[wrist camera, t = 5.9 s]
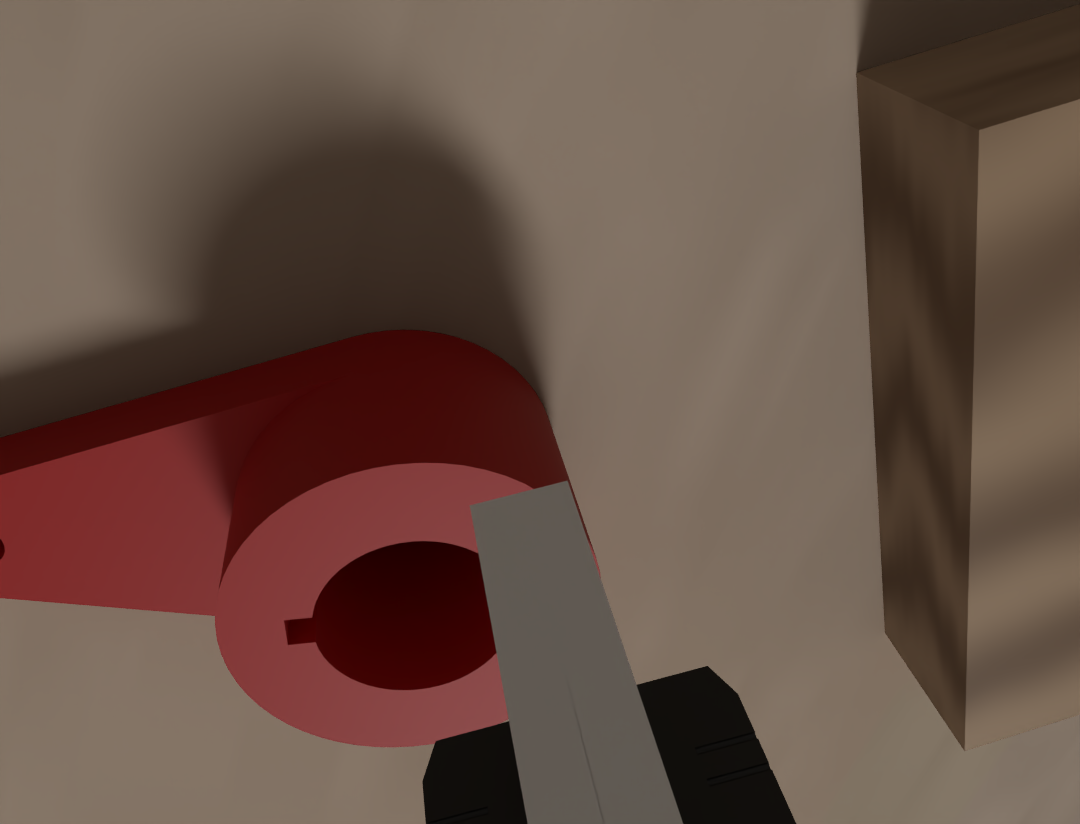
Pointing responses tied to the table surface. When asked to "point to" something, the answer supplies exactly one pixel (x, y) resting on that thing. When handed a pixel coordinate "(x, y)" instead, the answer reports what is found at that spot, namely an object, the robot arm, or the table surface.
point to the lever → (299, 524)
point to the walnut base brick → (979, 368)
